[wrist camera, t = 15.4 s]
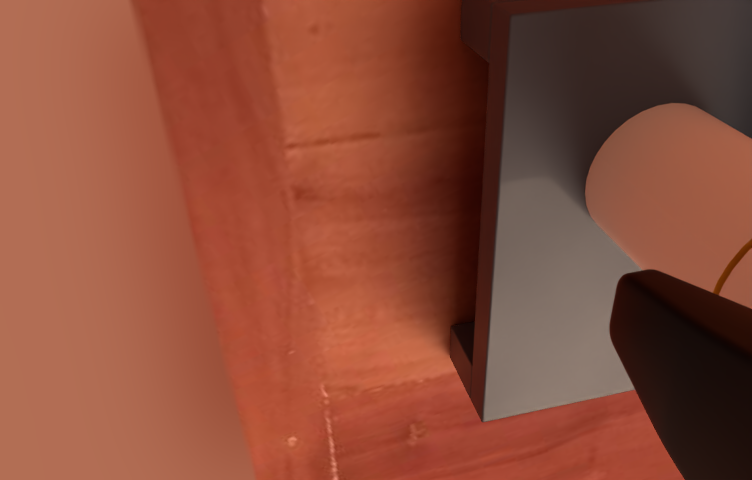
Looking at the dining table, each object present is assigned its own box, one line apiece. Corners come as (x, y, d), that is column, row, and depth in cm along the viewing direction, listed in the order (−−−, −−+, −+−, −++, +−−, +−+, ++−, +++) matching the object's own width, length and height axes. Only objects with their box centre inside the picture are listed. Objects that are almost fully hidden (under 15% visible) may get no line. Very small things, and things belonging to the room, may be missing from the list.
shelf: (449, 357, 27) (516, 494, 21) (460, -17, 19) (568, 51, 14) (678, 312, 29) (792, 429, 23) (770, -46, 21) (971, 5, 16)
